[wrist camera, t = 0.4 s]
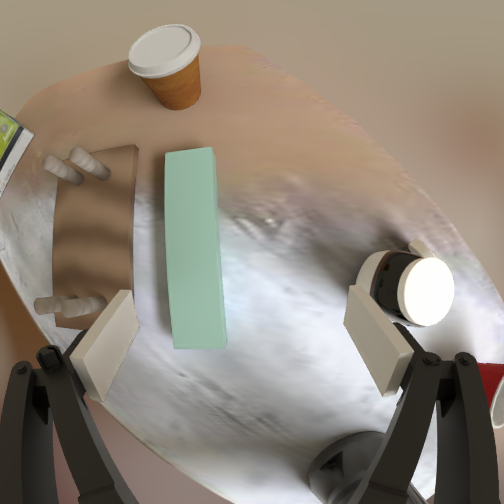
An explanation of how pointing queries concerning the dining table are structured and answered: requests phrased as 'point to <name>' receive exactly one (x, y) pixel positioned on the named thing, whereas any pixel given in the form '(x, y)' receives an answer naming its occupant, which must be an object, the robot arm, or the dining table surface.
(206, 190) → the shelf board
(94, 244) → the peg rack
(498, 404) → the plastic cup
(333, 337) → the dining table surface
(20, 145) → the tea box
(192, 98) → the disposable coffee cup
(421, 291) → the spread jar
